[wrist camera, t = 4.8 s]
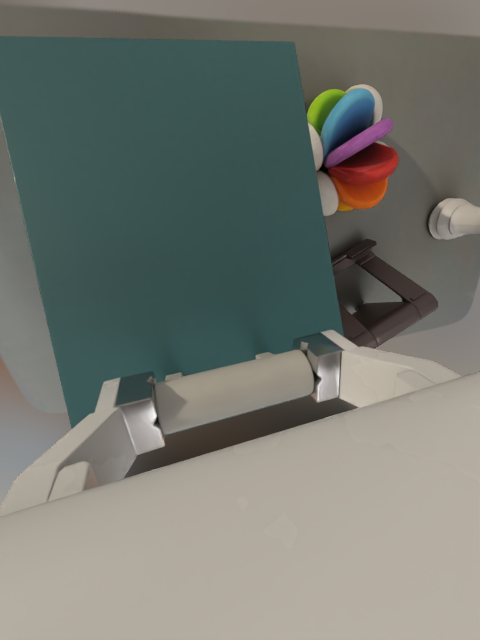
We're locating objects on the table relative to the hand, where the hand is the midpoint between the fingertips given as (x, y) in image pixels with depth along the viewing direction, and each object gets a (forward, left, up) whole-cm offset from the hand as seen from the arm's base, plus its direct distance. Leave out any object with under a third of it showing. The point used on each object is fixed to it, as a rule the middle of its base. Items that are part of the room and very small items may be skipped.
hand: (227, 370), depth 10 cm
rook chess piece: (-23, +19, -19) cm, 35 cm away
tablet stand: (-10, +15, -19) cm, 26 cm away
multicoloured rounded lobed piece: (-17, +4, -19) cm, 25 cm away
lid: (-3, -3, -5) cm, 6 cm away
